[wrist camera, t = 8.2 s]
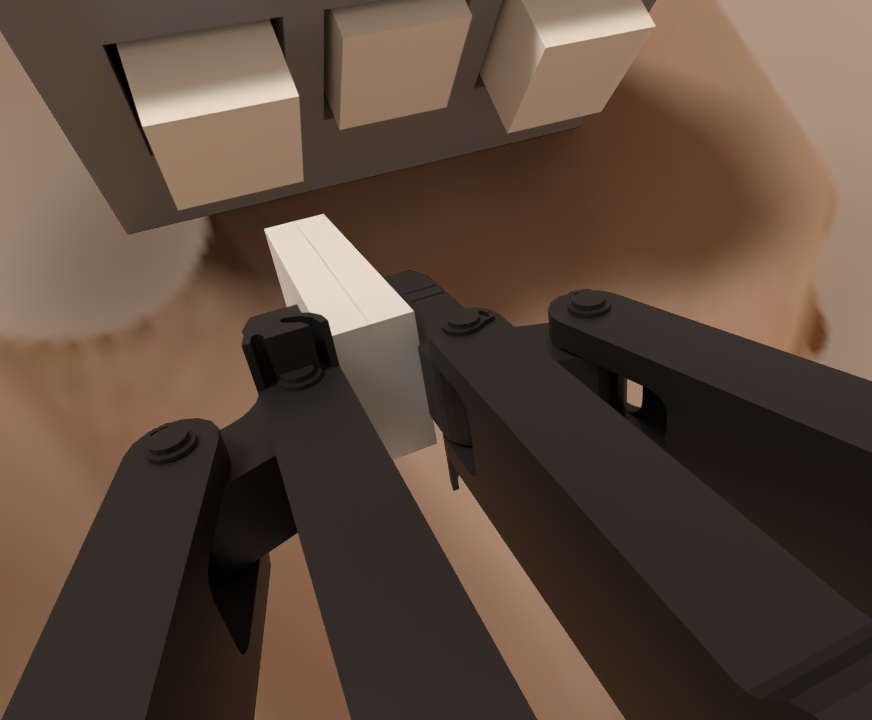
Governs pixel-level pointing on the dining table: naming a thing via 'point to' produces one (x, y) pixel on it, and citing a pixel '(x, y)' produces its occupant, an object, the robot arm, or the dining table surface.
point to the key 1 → (217, 110)
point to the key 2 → (560, 57)
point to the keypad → (304, 54)
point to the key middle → (391, 58)
